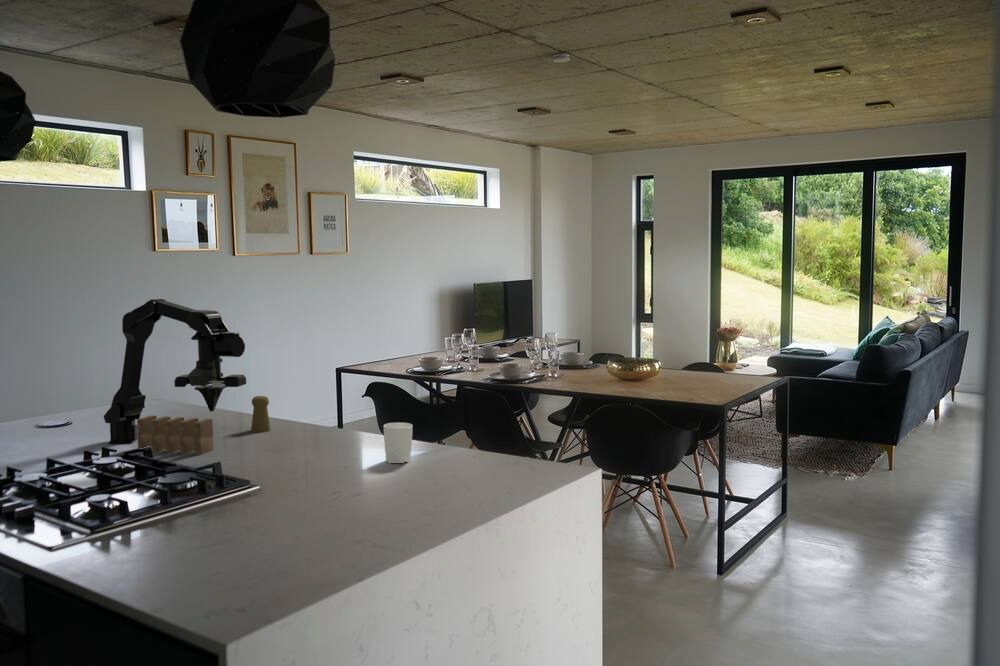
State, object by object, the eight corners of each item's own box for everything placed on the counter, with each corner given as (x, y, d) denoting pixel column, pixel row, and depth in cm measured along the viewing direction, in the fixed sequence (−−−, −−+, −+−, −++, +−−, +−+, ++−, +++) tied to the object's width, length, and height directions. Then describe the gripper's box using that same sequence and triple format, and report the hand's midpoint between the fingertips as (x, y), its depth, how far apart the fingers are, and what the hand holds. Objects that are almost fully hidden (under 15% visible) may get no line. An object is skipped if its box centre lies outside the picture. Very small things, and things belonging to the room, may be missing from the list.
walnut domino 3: (166, 452, 226) (165, 421, 225) (178, 447, 232) (177, 417, 231) (172, 452, 225) (171, 421, 225) (185, 447, 231) (184, 417, 230)
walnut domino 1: (138, 450, 228) (137, 419, 227) (151, 445, 234) (150, 415, 233) (144, 450, 227) (143, 419, 226) (157, 446, 233) (156, 415, 232)
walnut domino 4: (180, 453, 225) (179, 422, 224) (192, 448, 231) (191, 417, 230) (186, 453, 225) (185, 422, 224) (199, 448, 230) (198, 418, 229)
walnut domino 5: (194, 454, 224) (193, 422, 223) (206, 449, 230) (206, 418, 229) (201, 454, 224) (200, 423, 223) (213, 449, 229) (212, 419, 229)
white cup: (377, 462, 217) (377, 426, 216) (394, 456, 224) (394, 421, 223) (401, 466, 214) (401, 429, 213) (418, 459, 221) (418, 424, 220)
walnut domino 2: (152, 451, 227) (151, 420, 226) (165, 446, 233) (164, 416, 232) (158, 451, 226) (157, 420, 225) (171, 447, 232) (170, 416, 231)
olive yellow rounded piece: (267, 432, 252) (266, 398, 251) (248, 432, 252) (247, 397, 251) (273, 428, 258) (272, 394, 257) (254, 428, 258) (253, 394, 257)
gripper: (162, 359, 217) (165, 416, 218) (228, 359, 214) (230, 416, 216) (183, 355, 228) (185, 409, 229) (245, 354, 226) (248, 409, 227)
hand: (211, 411), depth 225 cm, fingers closed
